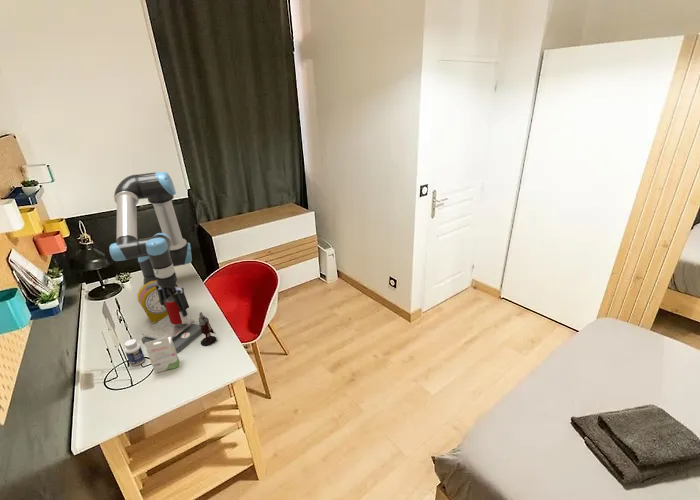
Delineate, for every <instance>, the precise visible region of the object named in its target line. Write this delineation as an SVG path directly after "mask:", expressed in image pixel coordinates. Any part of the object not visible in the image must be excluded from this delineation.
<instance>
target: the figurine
mask: <svg viewBox="0 0 700 500" xmlns="http://www.w3.org/2000/svg"><path fill="white" fill-rule="evenodd" d="M198 315H199V318H198V323H199V324H198V325H199V327H200V328H201V332H202V334H203V335H204V336H205V337H204V338H202V339H201V340H200V345H201V346H203V347H209V346H212V345H214V344H215V343H216V342H217V337H216V336H215V335H212V334H216V332H215V331H214V330H213V328H212V326H211V324H210V322H209V318H208V317H206V316H205V315H204V313H203V312H202V311H201V312H199V314H198Z"/></svg>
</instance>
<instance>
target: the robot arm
mask: <svg viewBox="0 0 700 500" xmlns="http://www.w3.org/2000/svg"><path fill="white" fill-rule="evenodd" d="M174 195H176V188H175V185H174V183H173V180H172V178H171V176H170V175H169V173H168V172H166V171H156V172H146V173H140V174H132V175H129V176H126V177H125V178H124V179H122V180H121V181H120V182H119V183H118V185H117V186H116V188H115V191H114V196H113V199H114V202H115V203H116V242H114V243H111V244H109V250H108V251H109V254H110V257H111V259H112V260H113V261H115V262H121V261H123V262H124V261H127V260H132V259H137V262H138V264H139V266H140V270H141V272H142V275H143V286H144V285H145V284H146V283H148V282H150V281H157V284H158V285H157V286H155V287H156V289H157V292H158V296H159V300H160V304H161V305H164V307H165V308H166V306H165V301H166V298H168V297H169V296H171V297H172V298H173V299H174V300H175V302H176V304H177V306H178V307H179V309H180V310H179V313H180V317H181V320H182V323H183V324H184V323H186V322H187V321H188V319H189V316H188V311H187V310H188V309H189V308H190V306H189V302H188V300H187V297H186V294H185V290H184V287H181V288H180V287H179V286H178V284H177V281H178V278H177V277H178V276H177V274H176V269H175V267H178V266H185V265H188V264H191V263H192V261H193V259H192V247H191V243H190V242H187V240H186V239H185V238H183V236H182V232H181V228H180V226H179V222H178V218H177V215H176V212H175V211H176V210H175V208H174V205H173V199H174V198H175V197H174ZM144 199H147V201H148V203H149V204H151V205H152V206H153V209H154V212H155V215H156V218H157V220H158V224H159V228H160V229H161V232H157V233H156V234H154V235H153V236H152V237H145V238H138V219H137V218H138V217H137V205H138V203H139V201H140V200H144ZM143 286H142V287H143ZM166 311H167V309H166Z"/></svg>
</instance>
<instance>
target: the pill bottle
mask: <svg viewBox="0 0 700 500" xmlns="http://www.w3.org/2000/svg"><path fill="white" fill-rule="evenodd" d="M124 346H125V349H124V353H125V355H126V357H127V360H128V363H129V365H130V366H139V365H141V364H142V363H144V361H145V358H146V357H145V355H144V353H143V350H142V347H141V345H140V343H138V342H137V340H136V339H134V338H133V339H128V340H126V342H125V343H124Z"/></svg>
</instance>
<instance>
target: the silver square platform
mask: <svg viewBox="0 0 700 500" xmlns="http://www.w3.org/2000/svg"><path fill="white" fill-rule="evenodd" d="M192 323H193V324H194V323H195V319H194V320H193V319H190V318H188V321H187V322H186V323H184V324H183V323H181V324H178V325H175V324H172V323H171V322H170V319H169V316H168V315H167V316H166V317H164V318H163V319H162V320H160V321H157V322H155V323H153V325H151V326H150V327H149V328H147V329H145V330H144V331H142V332H141V336H143V337H144V336H146V337H150V338H153V339H162V338H165V337H171V338H172V339H173V338H174V337H175V336H177V335H178V334H179V333H180V332H182V331H183V330H184V329H186V328H187V327H188V326H189V325H191V324H192Z"/></svg>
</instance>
